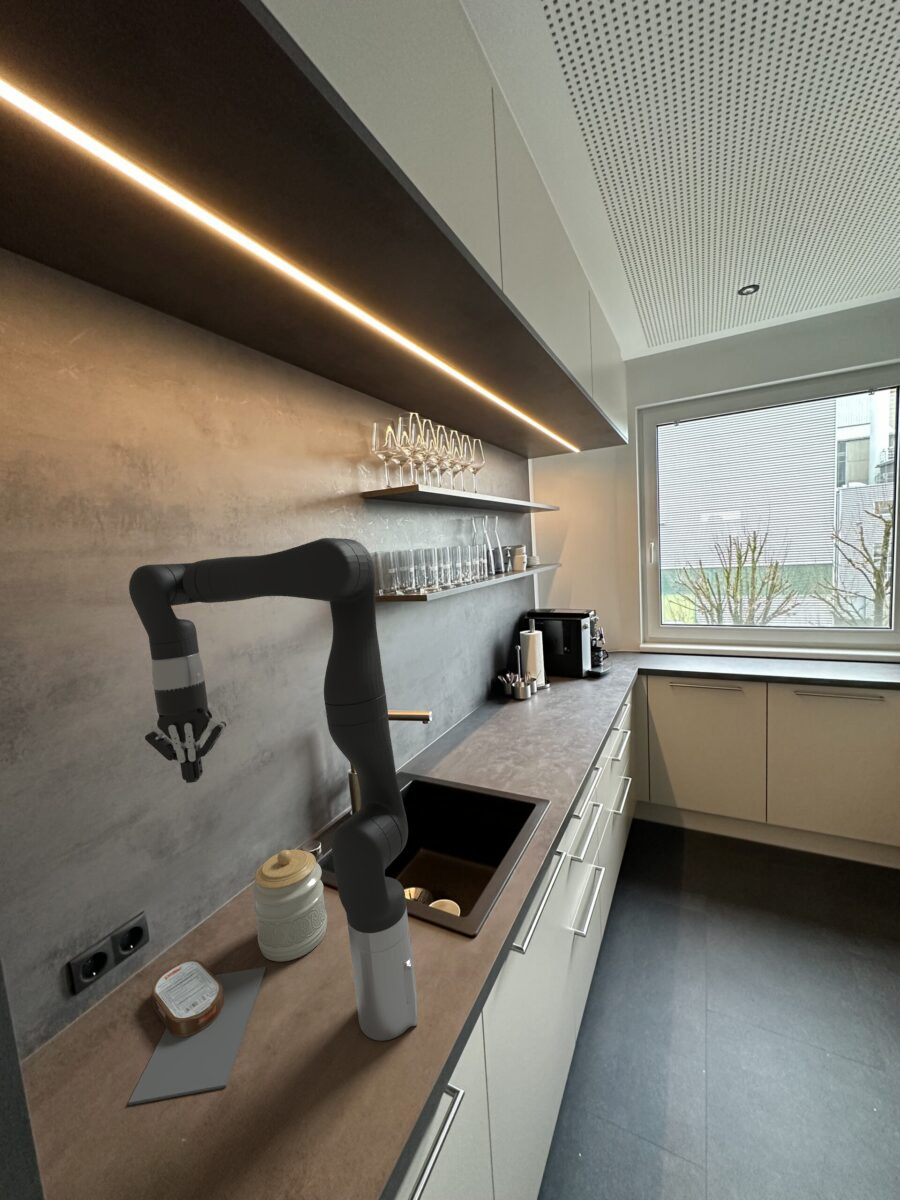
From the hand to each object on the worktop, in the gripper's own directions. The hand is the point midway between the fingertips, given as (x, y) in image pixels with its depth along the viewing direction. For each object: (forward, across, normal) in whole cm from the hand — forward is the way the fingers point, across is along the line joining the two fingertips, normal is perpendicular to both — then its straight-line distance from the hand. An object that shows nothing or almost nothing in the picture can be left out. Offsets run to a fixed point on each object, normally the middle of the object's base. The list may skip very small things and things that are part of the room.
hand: (193, 780), depth 83 cm
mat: (+37, -1, +9) cm, 38 cm away
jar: (+37, -11, -8) cm, 40 cm away
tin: (+35, +7, +7) cm, 36 cm away
